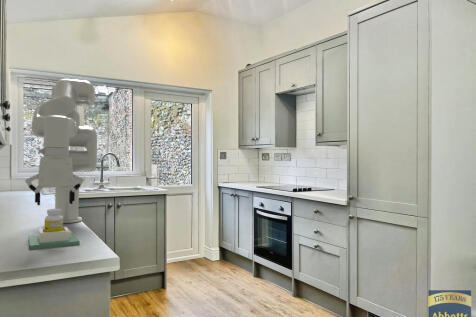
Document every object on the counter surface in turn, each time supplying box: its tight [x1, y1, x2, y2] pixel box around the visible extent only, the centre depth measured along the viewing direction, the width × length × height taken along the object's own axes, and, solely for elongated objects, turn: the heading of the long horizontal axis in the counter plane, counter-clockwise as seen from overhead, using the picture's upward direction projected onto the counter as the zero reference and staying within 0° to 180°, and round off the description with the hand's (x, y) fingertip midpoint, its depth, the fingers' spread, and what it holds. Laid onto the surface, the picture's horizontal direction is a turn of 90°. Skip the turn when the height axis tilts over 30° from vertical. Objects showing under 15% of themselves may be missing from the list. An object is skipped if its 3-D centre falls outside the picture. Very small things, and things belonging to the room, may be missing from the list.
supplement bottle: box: [44, 208, 64, 232], centre depth 117 cm, size 5×5×10 cm
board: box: [28, 226, 80, 250], centre depth 118 cm, size 16×14×4 cm
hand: (55, 204), depth 118 cm, fingers open, 9 cm apart
